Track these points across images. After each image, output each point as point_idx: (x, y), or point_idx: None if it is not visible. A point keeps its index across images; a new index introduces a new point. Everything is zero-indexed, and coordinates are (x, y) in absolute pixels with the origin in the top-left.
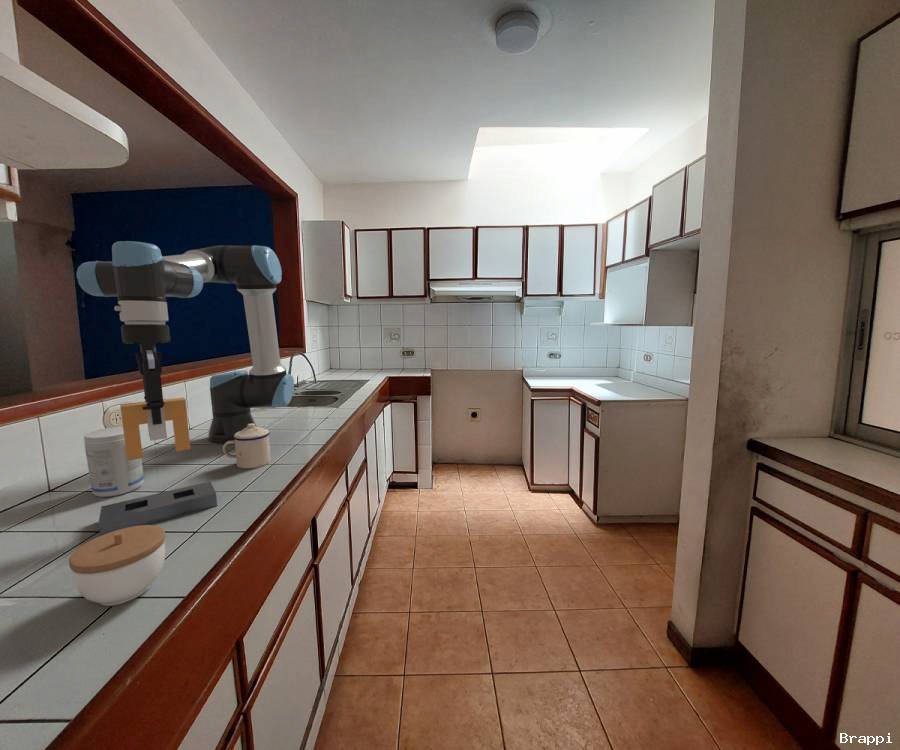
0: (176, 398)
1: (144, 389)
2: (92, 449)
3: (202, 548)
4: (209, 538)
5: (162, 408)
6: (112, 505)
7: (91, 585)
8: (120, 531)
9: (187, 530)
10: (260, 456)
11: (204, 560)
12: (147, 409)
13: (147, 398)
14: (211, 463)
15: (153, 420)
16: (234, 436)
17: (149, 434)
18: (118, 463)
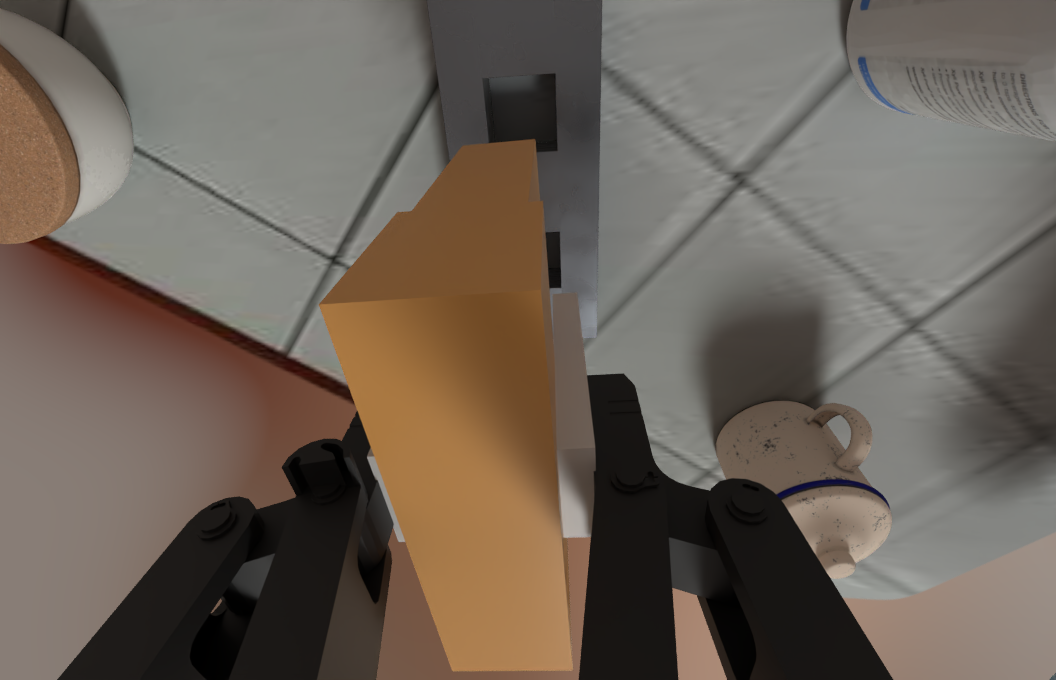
0: (559, 643)
1: (660, 639)
2: None
3: (234, 269)
4: (282, 286)
5: (399, 528)
6: (581, 22)
7: None
8: (12, 125)
9: (354, 243)
10: (725, 475)
11: (174, 269)
12: (368, 459)
13: (124, 600)
14: (909, 338)
15: (358, 415)
16: (837, 488)
17: (553, 303)
18: (947, 24)
